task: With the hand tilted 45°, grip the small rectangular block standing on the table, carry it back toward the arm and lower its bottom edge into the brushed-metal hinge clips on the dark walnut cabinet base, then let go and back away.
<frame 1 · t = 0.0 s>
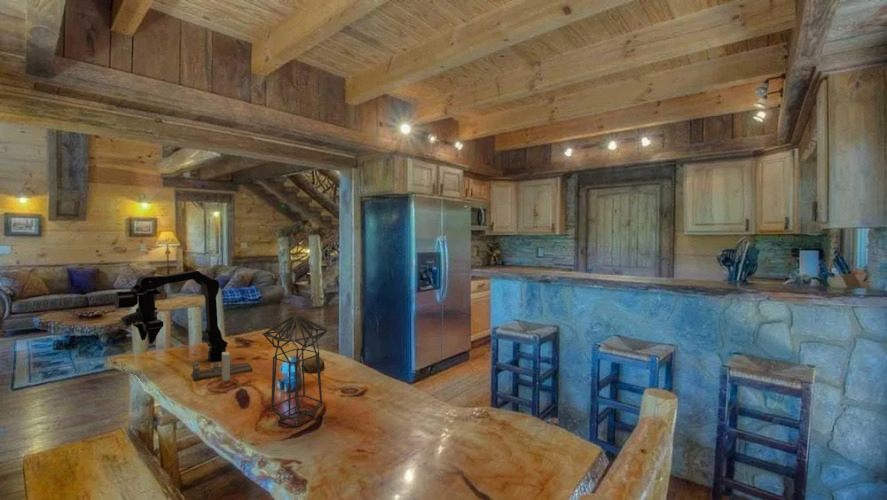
hand: (147, 341, 166), 15 cm above the table, tool pointing down, fingers open, 9 cm apart
rectangular block: (225, 379, 163), on the table
brown rough lump: (313, 370, 177), on the table
geometric lantern: (295, 421, 127), on the table
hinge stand: (222, 372, 172), on the table
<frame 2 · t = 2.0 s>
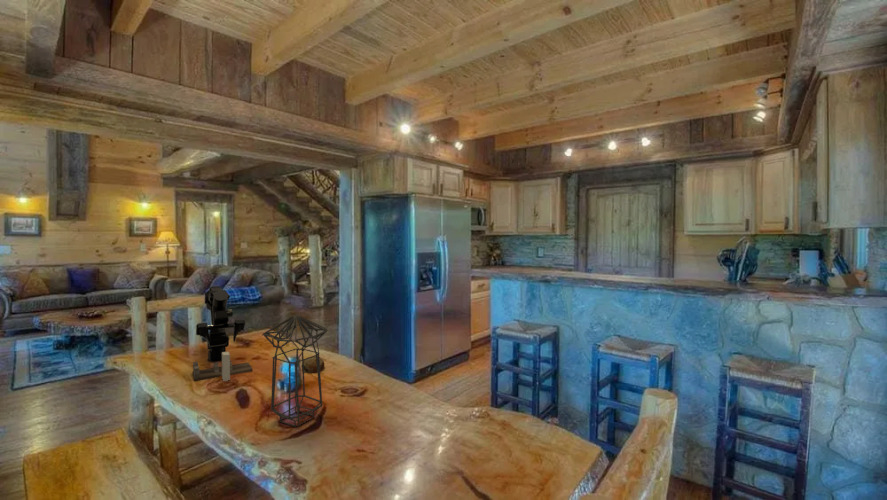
hand: (222, 343, 169), 13 cm above the table, tool tilted 45°, fingers open, 9 cm apart
nothing on the table moved.
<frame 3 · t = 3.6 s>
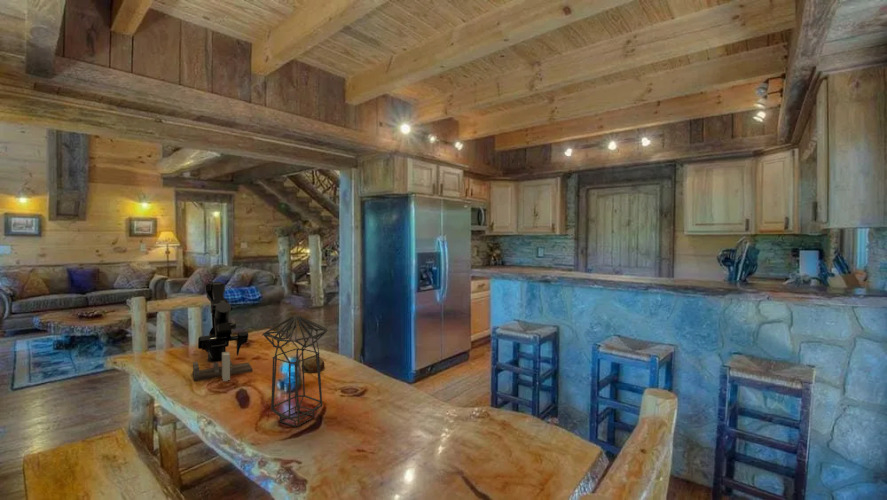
hand: (225, 356, 164), 9 cm above the table, tool tilted 45°, fingers open, 9 cm apart
nothing on the table moved.
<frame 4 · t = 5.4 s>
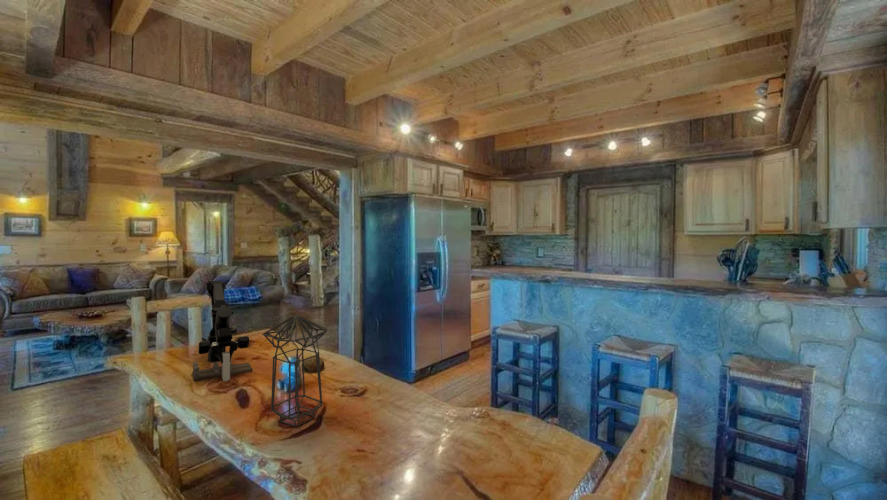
hand: (226, 362, 162), 8 cm above the table, tool tilted 45°, fingers closed on rectangular block, 2 cm apart
rectangular block: (225, 379, 163), on the table, touching gripper
everything else where it was.
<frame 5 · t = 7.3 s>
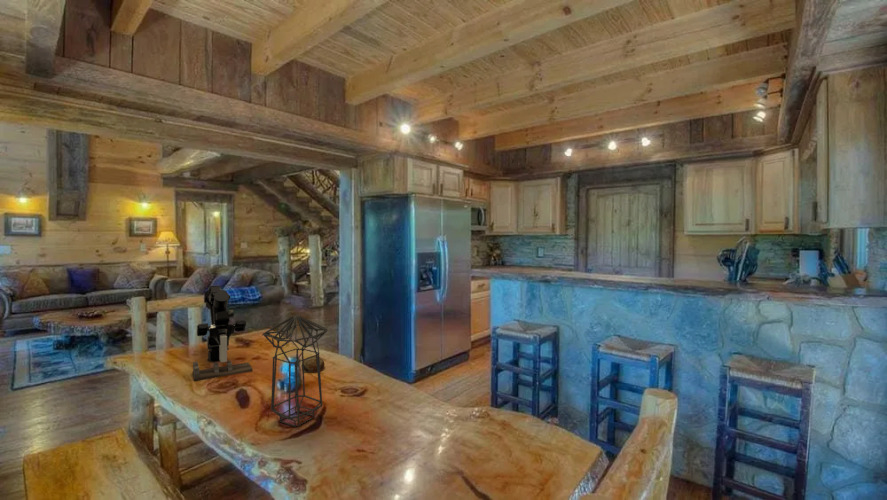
hand: (223, 344, 169), 13 cm above the table, tool tilted 45°, fingers closed on rectangular block, 2 cm apart
rectangular block: (223, 360, 171), point 6 cm above the table, touching gripper
everything else where it was.
when the fingers open (9 cm above the table, at t = 9.0 s): rectangular block stays where it is, resting on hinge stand.
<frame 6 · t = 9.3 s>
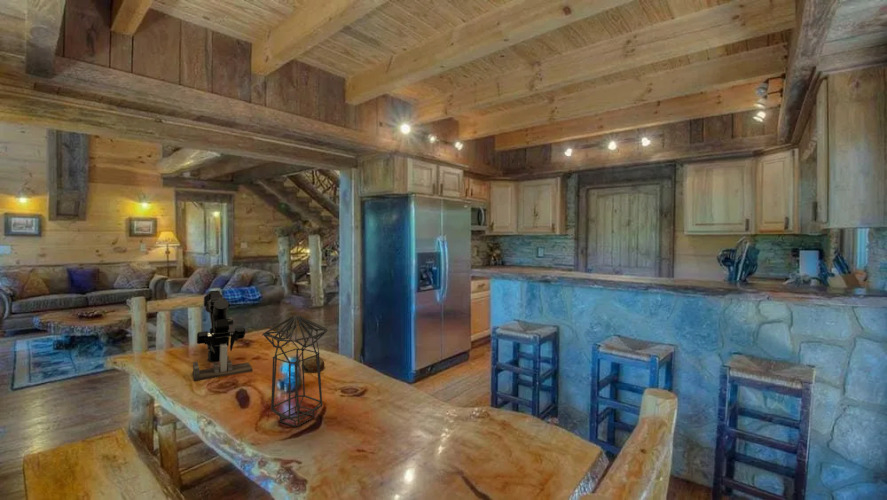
hand: (223, 351, 170), 10 cm above the table, tool tilted 45°, fingers open, 6 cm apart
rectangular block: (223, 370, 172), point 1 cm above the table, touching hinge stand
everything else where it was.
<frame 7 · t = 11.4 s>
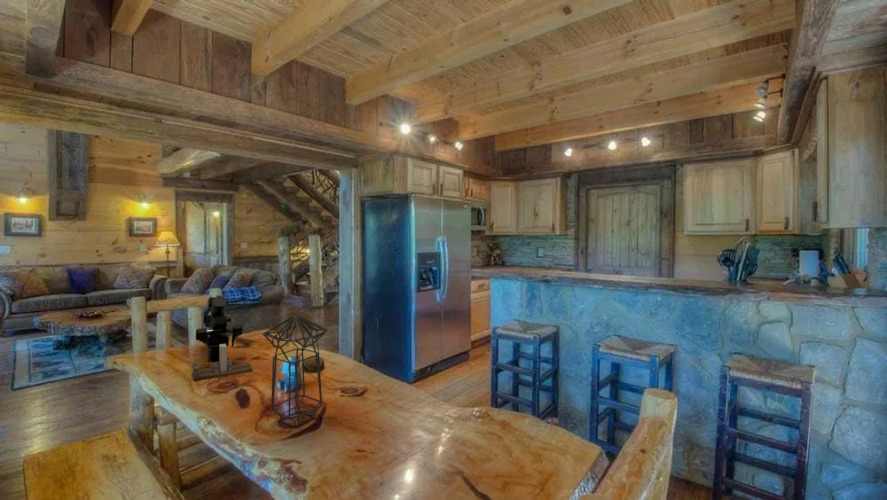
hand: (221, 347, 176), 9 cm above the table, tool tilted 45°, fingers open, 9 cm apart
nothing on the table moved.
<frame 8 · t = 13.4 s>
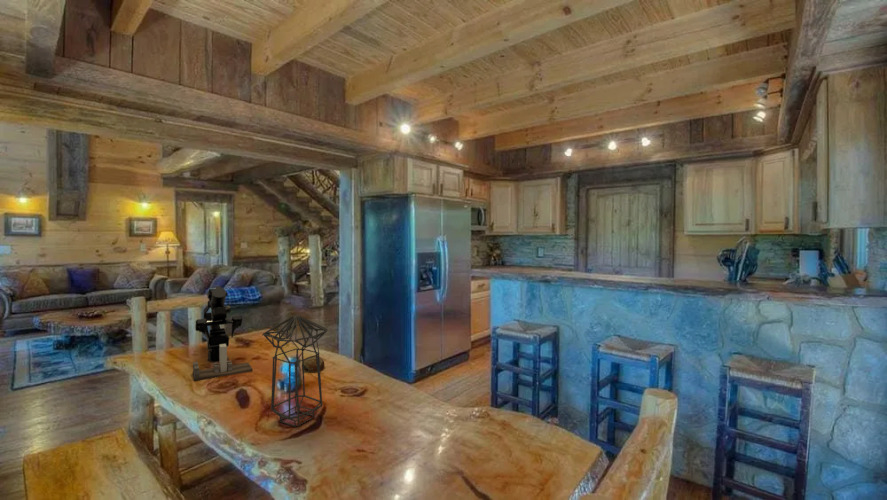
hand: (220, 338, 177), 14 cm above the table, tool tilted 45°, fingers open, 9 cm apart
nothing on the table moved.
at the end: rectangular block 0.1 cm off-centre on the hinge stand, point 1.0 cm above the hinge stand's base; rectangular block tilted 0°; the gripper is holding nothing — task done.
